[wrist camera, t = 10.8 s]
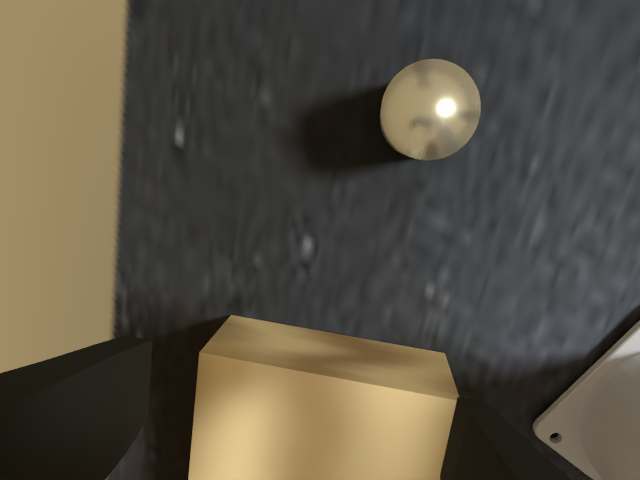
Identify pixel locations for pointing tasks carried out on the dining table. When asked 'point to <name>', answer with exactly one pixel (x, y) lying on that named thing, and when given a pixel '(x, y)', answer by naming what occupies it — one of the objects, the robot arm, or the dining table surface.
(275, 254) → the dining table surface
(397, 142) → the short pin
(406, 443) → the pin block
